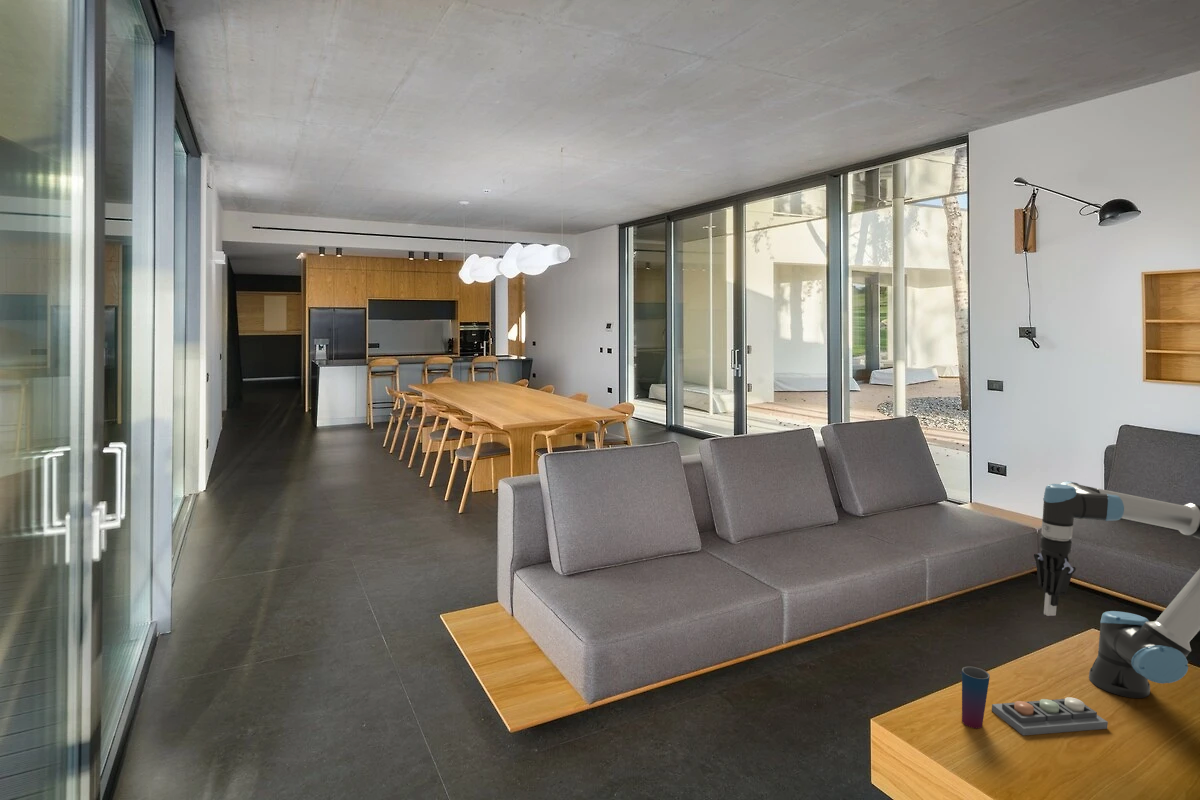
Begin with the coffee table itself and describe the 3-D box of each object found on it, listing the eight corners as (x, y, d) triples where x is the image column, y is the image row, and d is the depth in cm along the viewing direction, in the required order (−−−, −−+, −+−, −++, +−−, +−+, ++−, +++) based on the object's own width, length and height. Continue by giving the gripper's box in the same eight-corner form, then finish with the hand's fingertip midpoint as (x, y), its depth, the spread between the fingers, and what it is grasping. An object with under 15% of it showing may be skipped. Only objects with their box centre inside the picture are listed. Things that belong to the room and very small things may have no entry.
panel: (1071, 704, 199) (1072, 693, 198) (1107, 728, 187) (1108, 716, 186) (991, 710, 195) (992, 699, 195) (1022, 735, 183) (1023, 723, 183)
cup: (989, 731, 185) (993, 680, 183) (962, 728, 186) (966, 677, 184) (980, 717, 191) (984, 667, 190) (955, 714, 193) (958, 665, 191)
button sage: (1049, 706, 193) (1050, 698, 193) (1062, 715, 189) (1063, 707, 188) (1035, 707, 193) (1035, 699, 192) (1048, 716, 188) (1048, 708, 188)
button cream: (1074, 704, 194) (1075, 696, 194) (1087, 713, 190) (1088, 705, 189) (1060, 705, 194) (1060, 697, 193) (1073, 714, 189) (1074, 706, 189)
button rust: (1024, 708, 192) (1025, 700, 192) (1037, 717, 188) (1037, 709, 187) (1010, 709, 191) (1010, 701, 191) (1022, 718, 187) (1022, 710, 187)
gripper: (1027, 531, 202) (1021, 606, 205) (1063, 544, 189) (1056, 624, 192) (1049, 530, 203) (1043, 605, 206) (1086, 543, 190) (1079, 623, 193)
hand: (1049, 614), depth 199 cm, fingers closed
